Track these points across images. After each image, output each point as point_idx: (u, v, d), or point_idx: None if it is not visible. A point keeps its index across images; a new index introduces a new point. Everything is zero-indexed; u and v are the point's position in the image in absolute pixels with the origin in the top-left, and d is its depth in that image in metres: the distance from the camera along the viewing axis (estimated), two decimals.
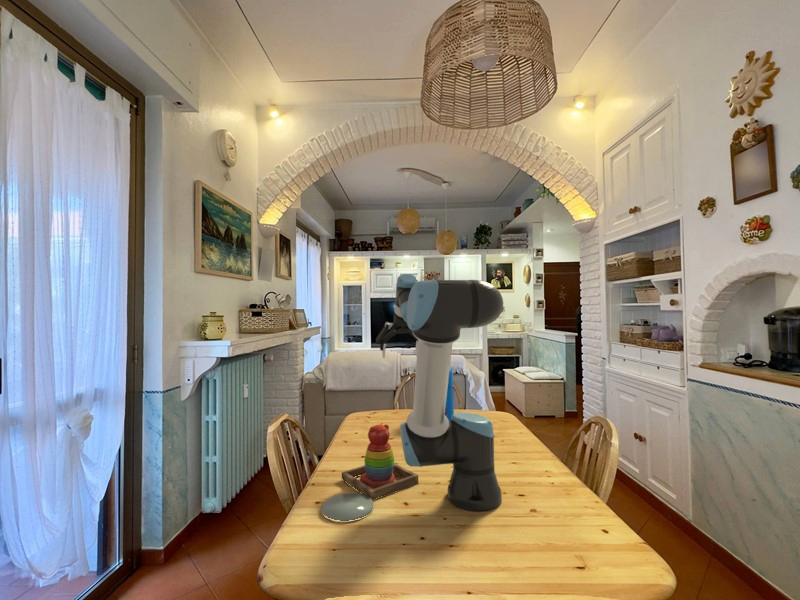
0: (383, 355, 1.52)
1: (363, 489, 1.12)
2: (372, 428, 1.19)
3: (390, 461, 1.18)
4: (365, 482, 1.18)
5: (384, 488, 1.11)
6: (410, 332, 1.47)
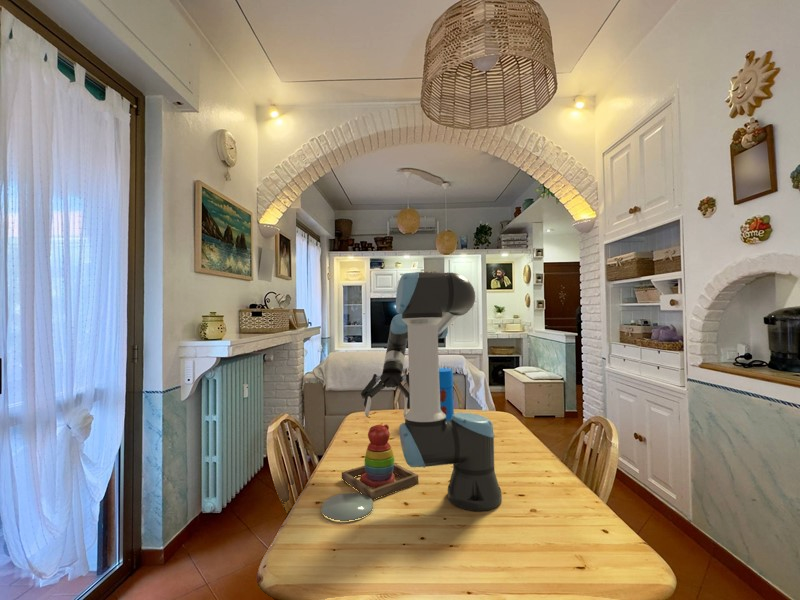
0: (365, 409, 1.33)
1: (363, 489, 1.12)
2: (372, 428, 1.19)
3: (390, 461, 1.18)
4: (365, 482, 1.18)
5: (384, 488, 1.11)
6: (397, 381, 1.39)
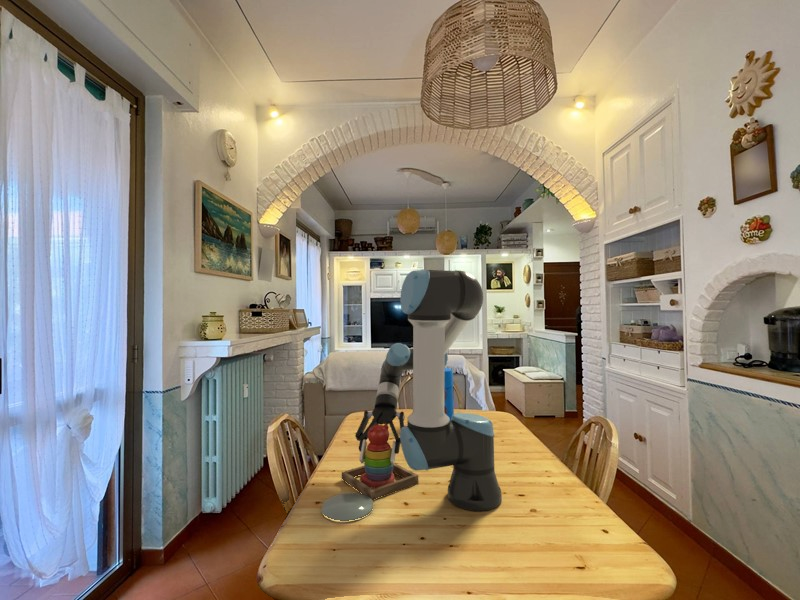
0: (360, 455, 1.19)
1: (363, 489, 1.12)
2: (372, 428, 1.19)
3: (389, 461, 1.18)
4: (365, 482, 1.18)
5: (384, 488, 1.11)
6: (389, 418, 1.26)
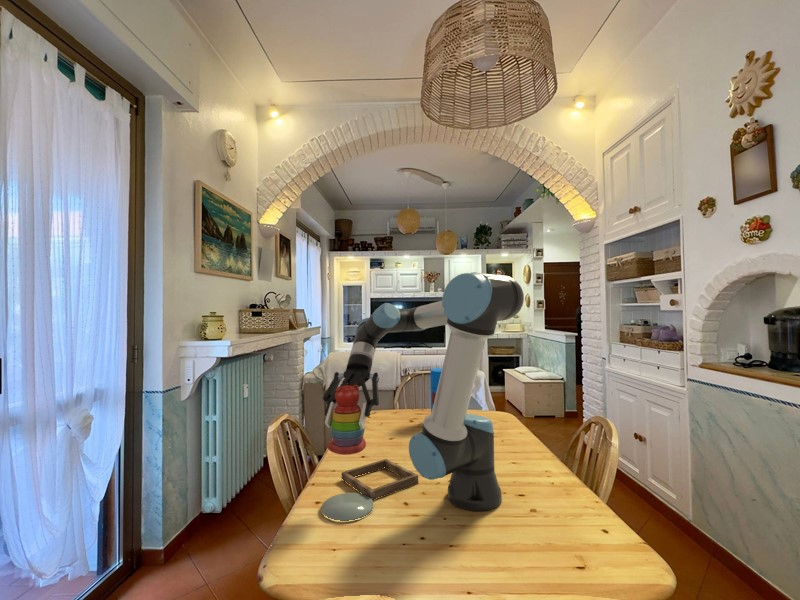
0: (326, 418, 1.06)
1: (363, 489, 1.12)
2: (339, 388, 1.06)
3: (358, 424, 1.04)
4: (331, 448, 1.05)
5: (384, 488, 1.11)
6: (361, 379, 1.13)
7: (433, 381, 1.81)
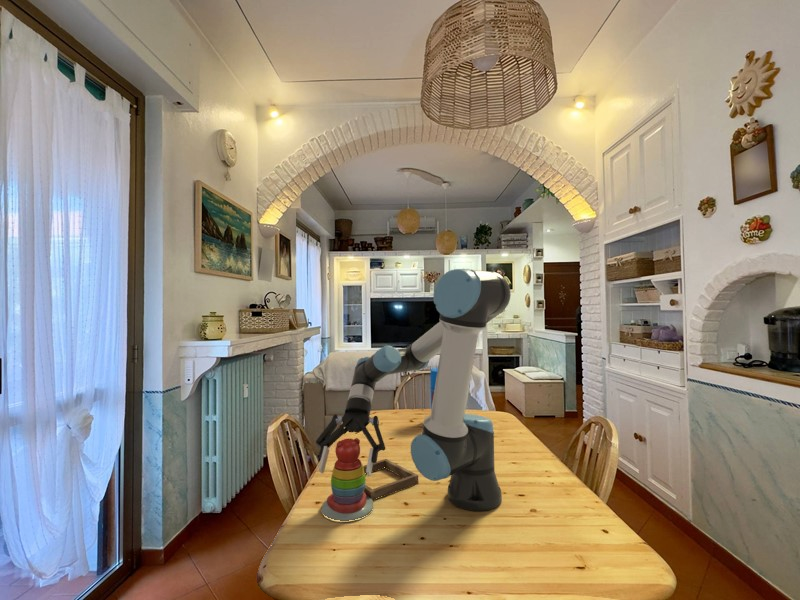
0: (320, 464, 1.04)
1: None
2: (339, 443, 1.03)
3: (359, 481, 1.02)
4: (331, 505, 1.02)
5: (384, 488, 1.11)
6: (362, 425, 1.10)
7: (433, 381, 1.81)
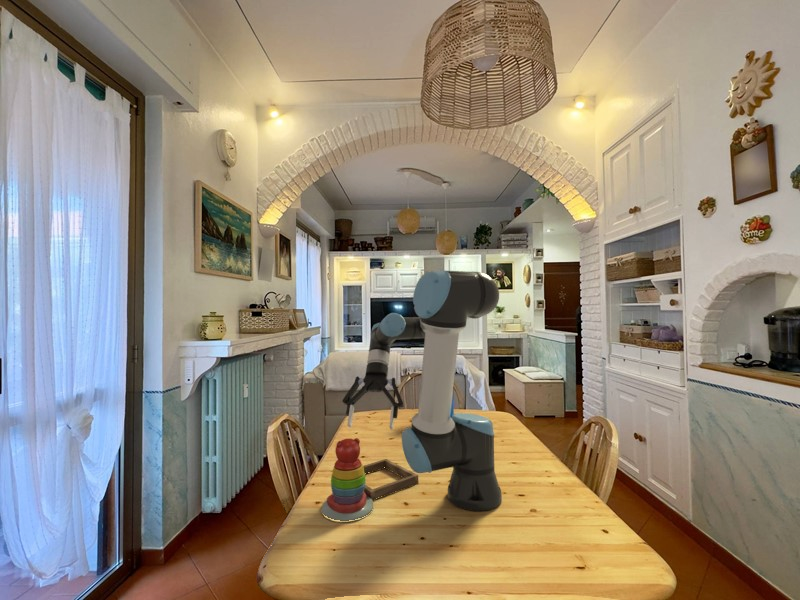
0: (348, 420, 1.22)
1: None
2: (339, 443, 1.03)
3: (359, 481, 1.02)
4: (331, 505, 1.02)
5: (384, 488, 1.11)
6: (382, 386, 1.27)
7: None
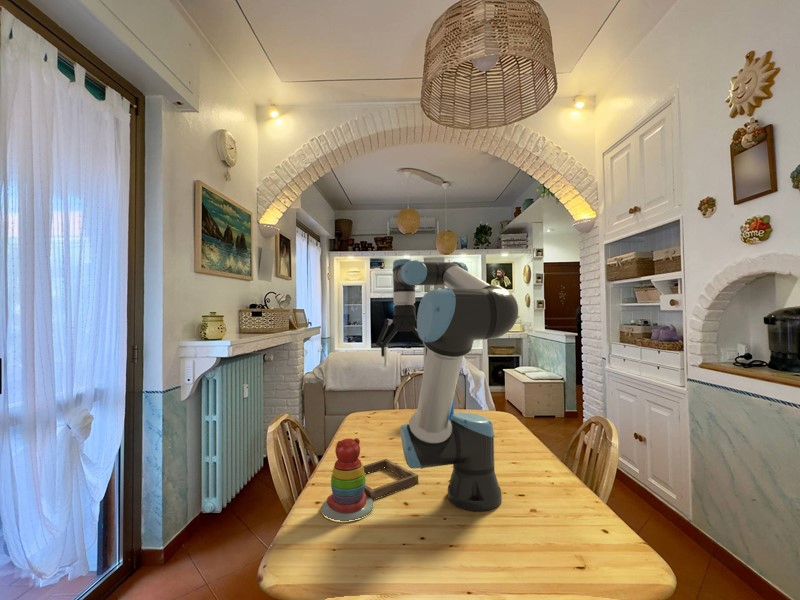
0: (384, 362, 1.31)
1: None
2: (339, 443, 1.03)
3: (359, 481, 1.02)
4: (331, 505, 1.02)
5: (384, 488, 1.11)
6: (412, 328, 1.29)
7: None
